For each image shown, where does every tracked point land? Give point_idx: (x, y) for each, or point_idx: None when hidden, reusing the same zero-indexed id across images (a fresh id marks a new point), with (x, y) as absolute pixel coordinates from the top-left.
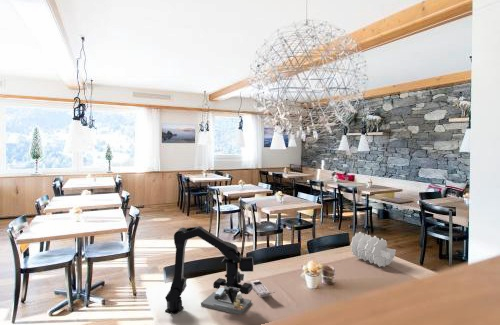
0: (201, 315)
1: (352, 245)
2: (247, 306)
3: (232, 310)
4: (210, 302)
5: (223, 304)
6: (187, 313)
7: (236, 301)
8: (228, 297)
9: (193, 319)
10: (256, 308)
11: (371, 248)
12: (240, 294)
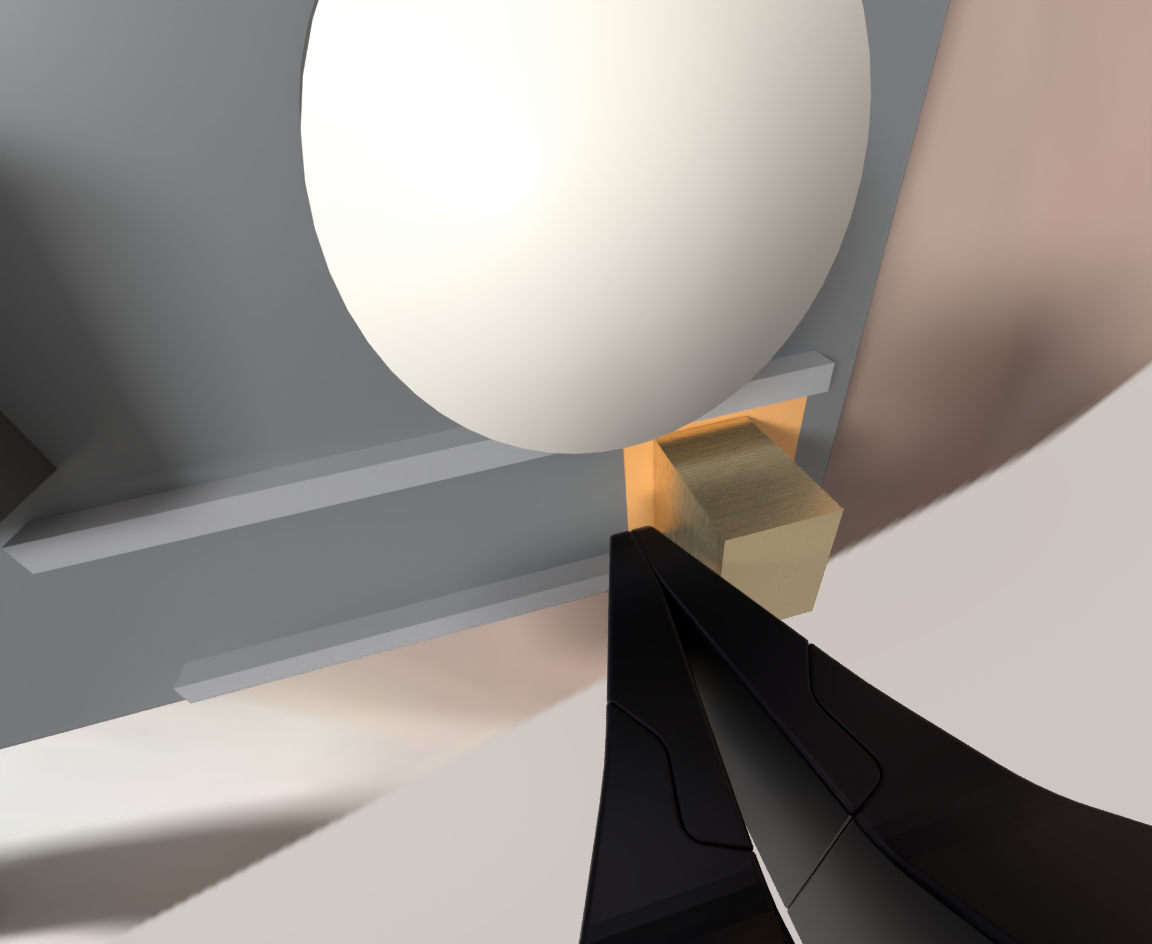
0: (292, 771)
1: None
2: None
3: None
4: (5, 675)
5: (355, 562)
6: (87, 848)
7: (771, 598)
8: (16, 170)
9: (302, 826)
10: (1041, 139)
11: None
12: (807, 249)
